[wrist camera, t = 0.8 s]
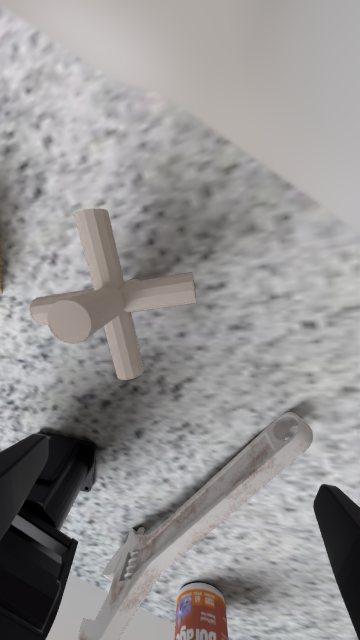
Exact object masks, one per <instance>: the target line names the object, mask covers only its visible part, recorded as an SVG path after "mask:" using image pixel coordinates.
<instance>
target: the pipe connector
mask: <svg viewBox="0 0 360 640" xmlns="http://www.w3.org/2000/svg"><path fill="white" fill-rule="evenodd" d="M74 216H75V219H76V223H77V227H78V231H79V235H80V238H81V242H82V246H83V250H84V253H85V257H86V261H87V265H88V269H89V272H90V276H91V280H92V284H93V287H94V288H93V289H87V290H81V291H75V292H69V293H63V294H57V295H51V296H45V297H39V298H36V299H34V300H33V301H32V302H31V305H30V313H31V316H32V318H33V320H34V321H35V322H36V323H38V324H39V325H48V326H49V328H50V330H51V332H52V333H53V334H54V336H56V337H57V338H58V339H59V340H61V341H63V342H66V343H79V342H82V341H83V340H85V339H86V338H88V337H89V336H90V335H92V334H93V333H95V332H96V331H97V330H99V329H100V328H102V327H103V326H104V329H105V333H106V337H107V340H108V344H109V348H110V352H111V355H112V359H113V363H114V367H115V371H116V374H117V378H119V379H120V380H129V379H133V378H136V377H137V376H139V375H141V374H142V373H143V372H144V368H143V363H142V359H141V354H140V350H139V346H138V341H137V337H136V332H135V328H134V324H133V319H132V315H131V312H136V311H143V310H150V309H156V308H163V307H170V306H176V305H183V304H190V303H196V294H195V287H194V280H193V274H192V272H191V273H184V274H178V275H172V276H166V277H160V278H154V279H148V280H142V281H141V280H139V279H131V280H128V281H125V282H124V280H123V275H122V271H121V267H120V262H119V258H118V253H117V249H116V245H115V240H114V236H113V231H112V227H111V223H110V218H109V214H108V211H107V210H104V209H87V210H82V211H79V212H76V213H75V214H74Z"/></svg>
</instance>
